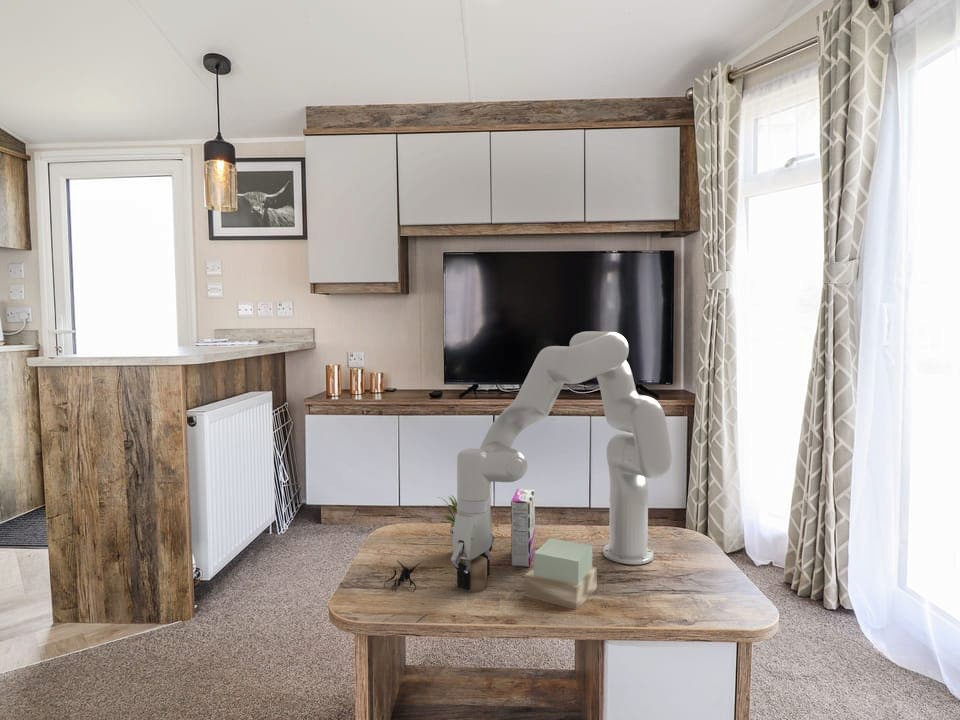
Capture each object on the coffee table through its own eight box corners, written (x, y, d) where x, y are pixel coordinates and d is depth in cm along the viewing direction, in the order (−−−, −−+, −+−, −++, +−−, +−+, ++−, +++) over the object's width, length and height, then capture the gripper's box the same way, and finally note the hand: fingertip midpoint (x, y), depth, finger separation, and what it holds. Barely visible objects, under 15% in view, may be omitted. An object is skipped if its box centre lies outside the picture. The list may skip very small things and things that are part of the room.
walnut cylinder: (469, 578, 134) (469, 553, 134) (491, 584, 131) (492, 558, 131) (455, 587, 129) (455, 561, 129) (477, 594, 126) (477, 567, 126)
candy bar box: (516, 549, 152) (516, 488, 151) (535, 550, 151) (535, 489, 150) (509, 566, 141) (510, 500, 140) (530, 568, 140) (530, 501, 139)
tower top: (550, 559, 134) (550, 538, 134) (592, 567, 129) (592, 545, 129) (533, 575, 125) (533, 552, 125) (578, 584, 120) (578, 561, 120)
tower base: (548, 577, 136) (548, 556, 135) (596, 589, 129) (596, 567, 129) (524, 597, 126) (524, 574, 125) (576, 611, 119) (576, 587, 119)
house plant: (425, 564, 142) (425, 499, 141) (436, 543, 156) (436, 484, 155) (483, 567, 140) (483, 501, 140) (488, 546, 154) (489, 486, 153)
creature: (410, 601, 125) (425, 578, 133) (407, 580, 124) (423, 558, 131) (378, 595, 128) (395, 573, 135) (375, 574, 127) (393, 553, 134)
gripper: (480, 493, 139) (480, 565, 140) (437, 512, 124) (437, 592, 125) (507, 497, 135) (507, 571, 136) (466, 518, 120) (466, 601, 121)
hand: (473, 581), depth 130 cm, fingers open, 7 cm apart
